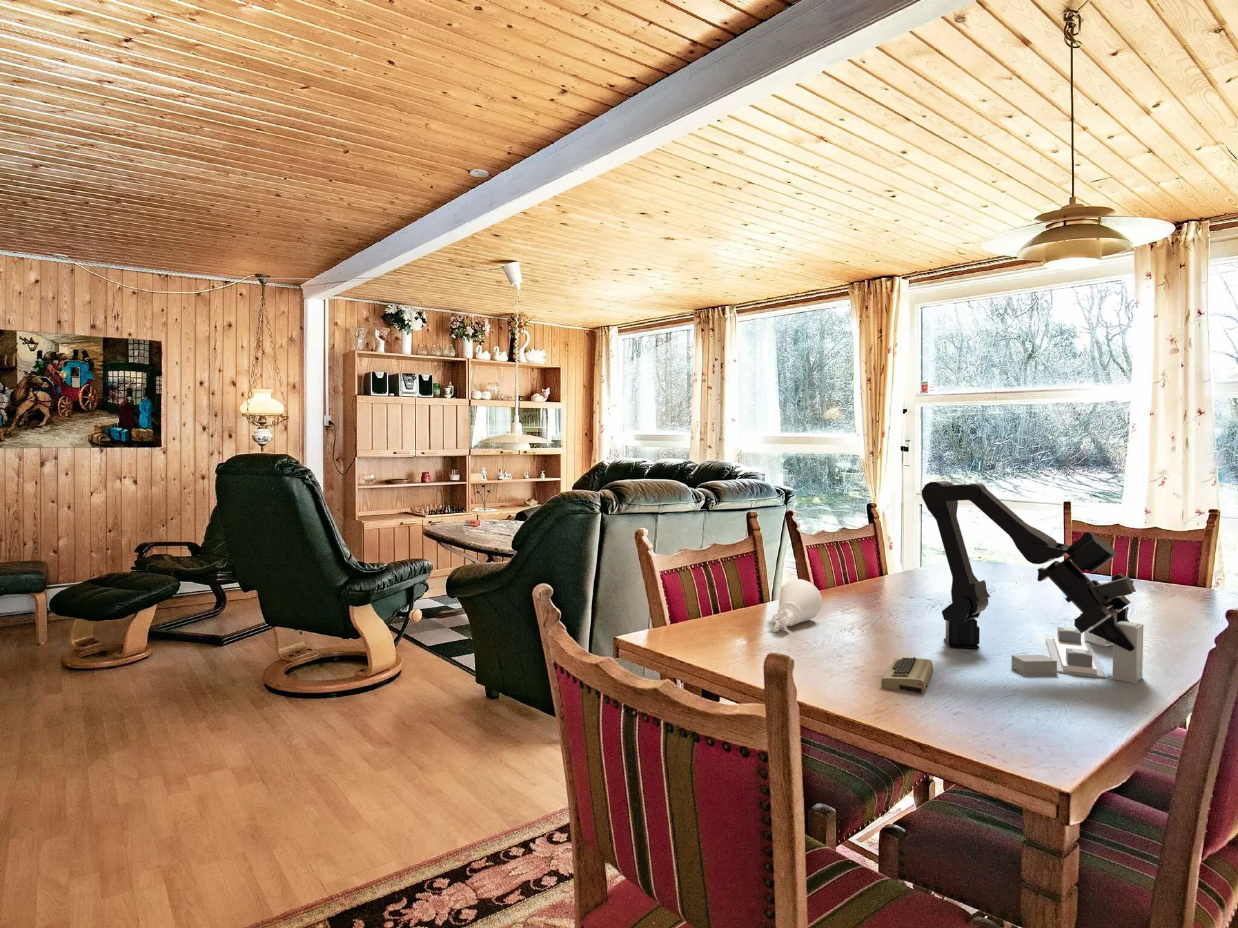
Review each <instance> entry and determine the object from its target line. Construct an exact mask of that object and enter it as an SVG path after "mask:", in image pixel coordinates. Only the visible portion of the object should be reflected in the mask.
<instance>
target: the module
mask: <svg viewBox="0 0 1238 928" xmlns="http://www.w3.org/2000/svg"><path fill="white" fill-rule="evenodd" d="M1117 625H1118V626H1119V627H1120V629H1121V630H1122V631H1123V633H1124V634H1125V635H1126V637H1127V638H1128V639H1129V640H1130V642H1131V643H1132V645H1133V646H1134V648H1135V649H1134V650H1132V651H1128V650H1126V649H1124V648H1122V647H1120V646H1118V645H1116V644H1114V643H1113V645H1112V646H1113V647H1112V679H1113V680H1118V681H1123V682H1129V683H1133V684H1137V683H1138V682H1140V680H1142V679H1143V668H1144V667H1143V662H1144V627H1145V626H1144V624H1143V623H1140V622H1133V621H1129V622H1127V621H1119V622H1118V623H1117Z"/></svg>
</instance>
